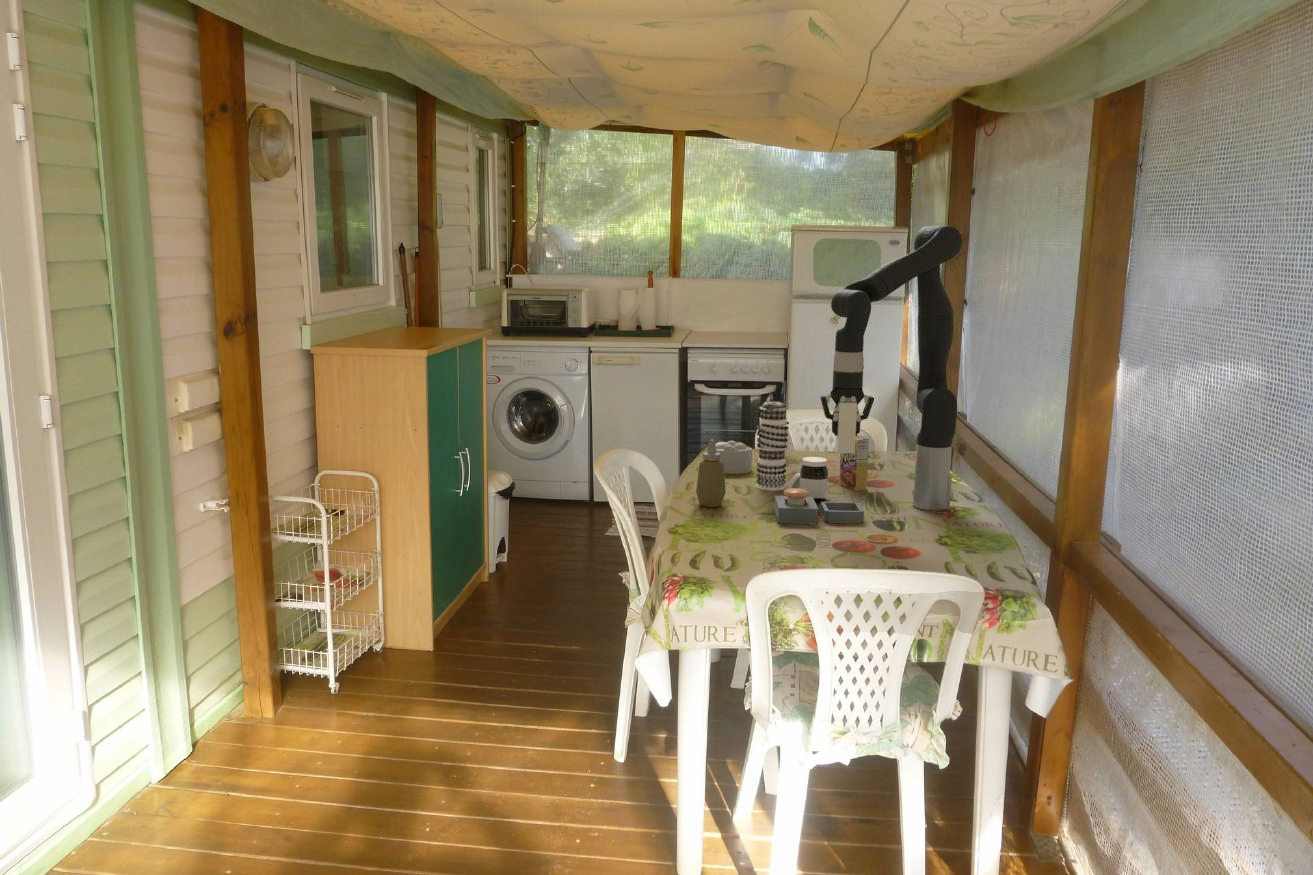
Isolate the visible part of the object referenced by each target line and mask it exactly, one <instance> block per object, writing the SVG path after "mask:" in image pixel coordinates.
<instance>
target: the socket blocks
mask: <svg viewBox="0 0 1313 875" xmlns="http://www.w3.org/2000/svg"><path fill="white" fill-rule="evenodd" d="M787 501H788V497H786V496H784V495H774V510H773V511H774V513H775V517H776V520H777V524H794V525H795V524H797V525H799V524H800V525H802V524H804V525H817V524H818V518H819V514H820V515H821V518H822V520H823V522H824V523H827V524H828V523H829V524H832V523H833V524H864V518H865V511H864V509H863V507H862V505H861V504H860V503H859V502H855V501H825V502H821V503H820V511H819V508H818V506H817V503H815V501H814V499H813V496H808V497H805V501H804V505H787Z"/></svg>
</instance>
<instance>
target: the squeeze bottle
mask: <svg viewBox="0 0 1313 875" xmlns="http://www.w3.org/2000/svg"><path fill="white" fill-rule="evenodd" d="M715 444H716V442H715V439H710V440H709V442H708V446H707V450H706V451H705V452H703V453H702V460H701V461H699V466H698V473H697V482H696V488H695V489H696V490H695V494H696V496H697V500H698V503H699V505H700V506H702V507H706V508H707V507H708V508H716V507H720V506H722V504H723V501H724V499H725V496H726V492H727V491H726V479H725V473H724V463H723V462H722V461H720V453H718V452H716V447H715Z"/></svg>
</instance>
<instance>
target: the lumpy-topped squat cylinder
mask: <svg viewBox="0 0 1313 875" xmlns="http://www.w3.org/2000/svg"><path fill="white" fill-rule="evenodd" d="M715 447H716V452H718V453H720V461H722V462H723V463H724V474H732V475H734V474H739V475H740V474H746V473H747V474H748V473H751V472H752V471H753V470H752V468H753V467H752V465H753V463H752V462H753V448H752V447H750V446H747V445H746V444H745V443H743V442H737V441H734V440H728V441H727V442H726V441H718V442H715Z"/></svg>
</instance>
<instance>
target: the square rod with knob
mask: <svg viewBox="0 0 1313 875" xmlns="http://www.w3.org/2000/svg"><path fill="white" fill-rule="evenodd" d="M857 406H858V405H857V403H852V402H851V398H846V399H845V402H844V403H839V415H838V435H837V436H835V443H834V444H835V445H834V446H835V447H834V449H835V452H836V453H837V454H840V453H855V437H856V415H857Z"/></svg>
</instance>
